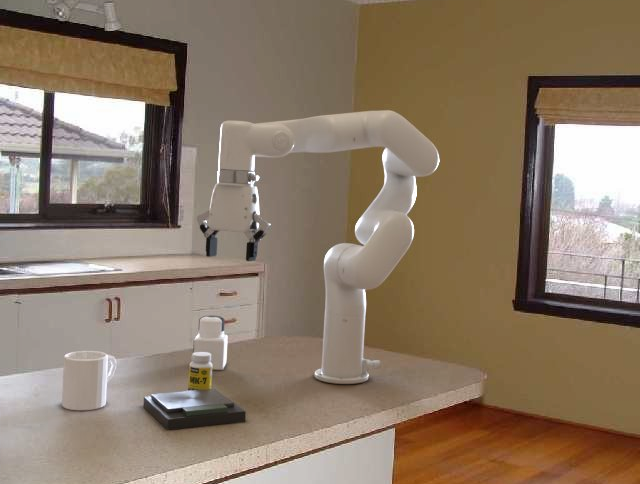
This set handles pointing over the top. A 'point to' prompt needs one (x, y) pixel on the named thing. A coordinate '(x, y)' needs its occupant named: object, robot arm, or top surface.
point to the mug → (86, 379)
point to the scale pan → (190, 399)
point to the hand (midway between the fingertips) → (230, 258)
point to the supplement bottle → (200, 371)
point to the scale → (195, 415)
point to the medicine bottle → (212, 340)
